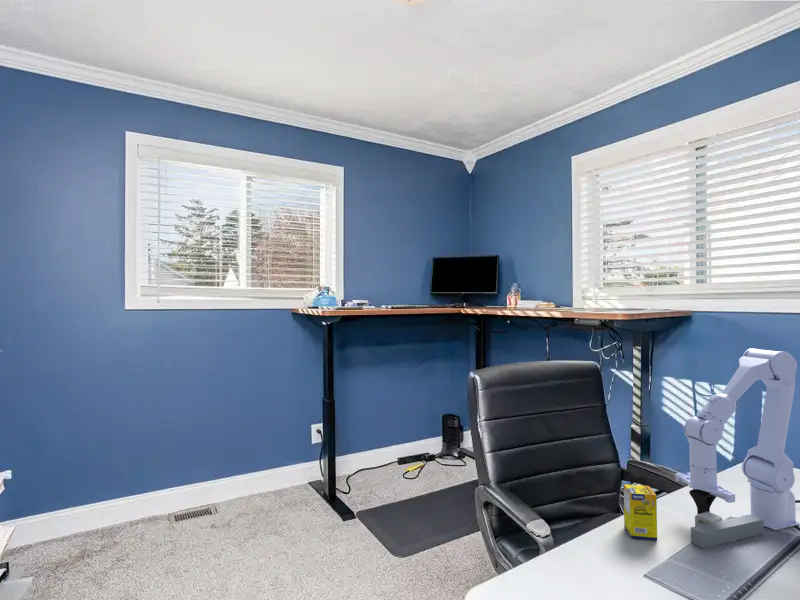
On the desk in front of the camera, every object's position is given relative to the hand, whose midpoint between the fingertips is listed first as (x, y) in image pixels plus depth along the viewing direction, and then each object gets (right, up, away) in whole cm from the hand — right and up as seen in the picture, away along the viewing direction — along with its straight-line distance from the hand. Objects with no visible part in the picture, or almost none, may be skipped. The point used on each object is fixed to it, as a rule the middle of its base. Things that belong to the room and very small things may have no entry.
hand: (704, 519), depth 116 cm
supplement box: (-18, -2, -4) cm, 19 cm away
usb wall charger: (0, -2, -2) cm, 3 cm away
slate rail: (+2, -2, -6) cm, 7 cm away
